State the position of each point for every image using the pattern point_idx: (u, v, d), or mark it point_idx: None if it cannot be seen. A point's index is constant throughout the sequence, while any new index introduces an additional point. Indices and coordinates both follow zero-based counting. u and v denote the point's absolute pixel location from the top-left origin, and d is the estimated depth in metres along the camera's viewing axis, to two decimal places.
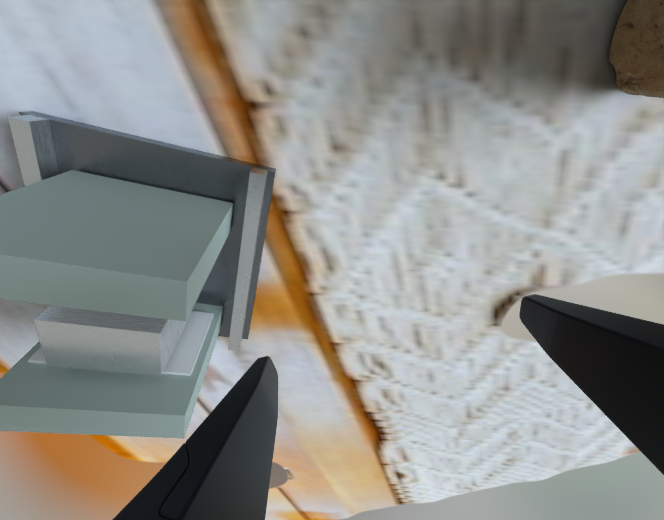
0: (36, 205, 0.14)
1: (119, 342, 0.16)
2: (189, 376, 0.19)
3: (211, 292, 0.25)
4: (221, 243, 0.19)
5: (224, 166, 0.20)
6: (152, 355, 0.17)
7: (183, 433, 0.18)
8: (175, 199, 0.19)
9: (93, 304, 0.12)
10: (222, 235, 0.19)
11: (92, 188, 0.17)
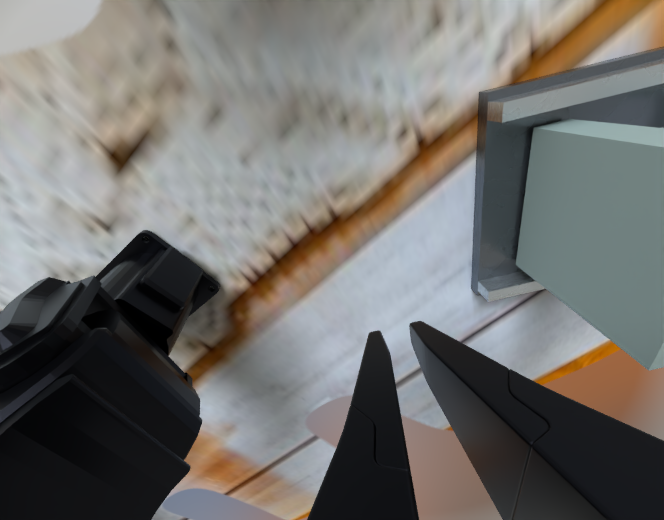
0: (581, 288, 0.17)
1: None
2: None
3: (660, 113, 0.18)
4: (608, 126, 0.15)
5: (491, 150, 0.18)
6: None
7: None
8: (541, 187, 0.18)
9: None
10: (596, 128, 0.15)
11: (540, 252, 0.20)
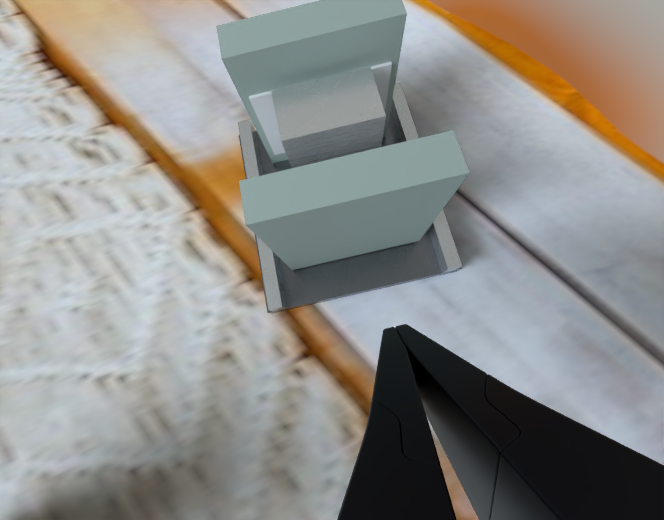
0: (410, 218, 0.17)
1: (313, 117, 0.17)
2: (249, 94, 0.18)
3: None
4: None
5: (309, 297, 0.22)
6: (283, 111, 0.17)
7: (218, 32, 0.16)
8: (333, 255, 0.21)
9: (318, 168, 0.13)
10: None
11: (393, 239, 0.20)
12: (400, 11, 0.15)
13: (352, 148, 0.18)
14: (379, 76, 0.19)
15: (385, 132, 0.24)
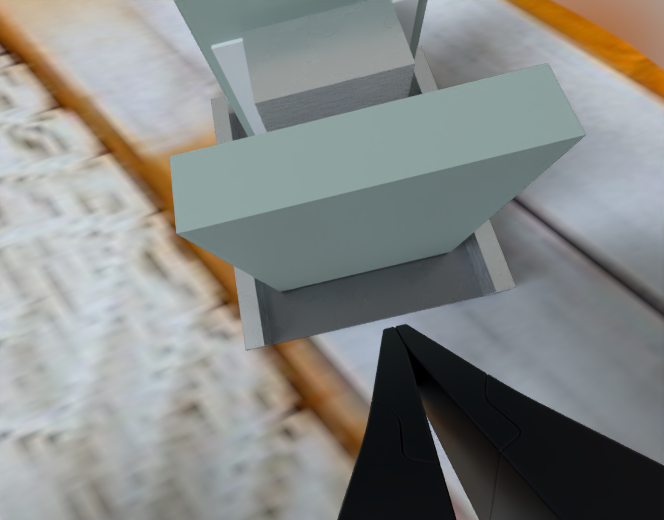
0: (451, 221, 0.11)
1: (304, 68, 0.11)
2: (212, 43, 0.12)
3: None
4: None
5: (303, 329, 0.16)
6: (259, 61, 0.11)
7: None
8: (335, 273, 0.15)
9: (308, 133, 0.07)
10: None
11: (418, 250, 0.14)
12: None
13: None
14: (400, 17, 0.13)
15: None
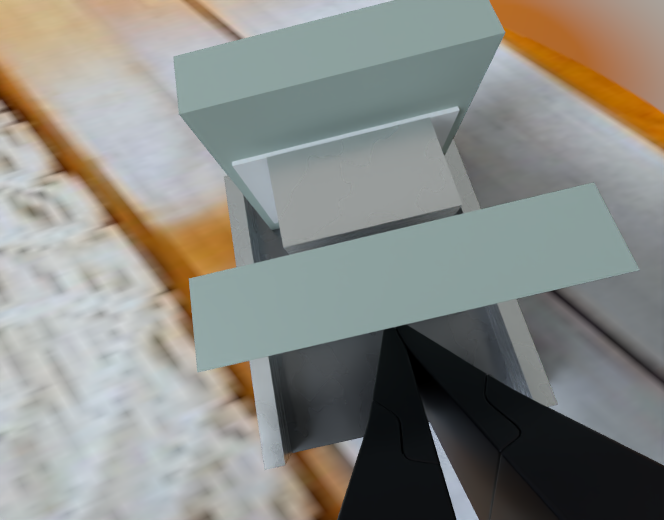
0: None
1: (338, 205, 0.10)
2: (232, 159, 0.11)
3: None
4: None
5: (324, 436, 0.15)
6: (287, 194, 0.10)
7: (176, 68, 0.09)
8: None
9: (337, 256, 0.07)
10: None
11: None
12: (493, 29, 0.09)
13: None
14: (436, 127, 0.12)
15: None
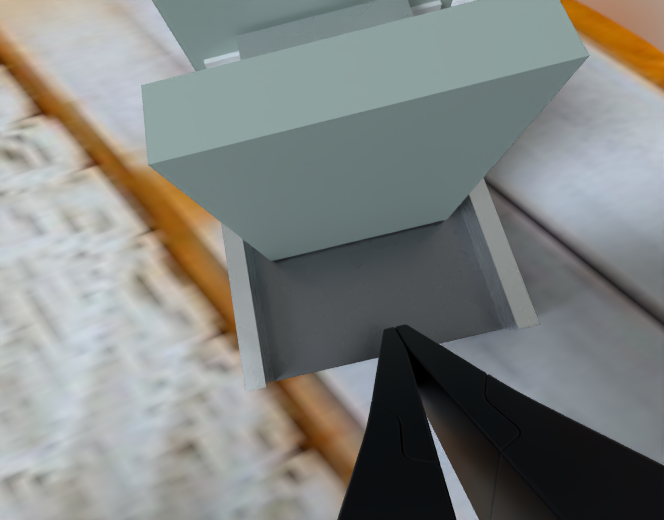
0: (446, 175, 0.11)
1: None
2: (204, 57, 0.11)
3: None
4: None
5: (307, 365, 0.15)
6: None
7: None
8: (327, 240, 0.15)
9: (290, 59, 0.07)
10: None
11: (412, 214, 0.14)
12: None
13: None
14: None
15: None
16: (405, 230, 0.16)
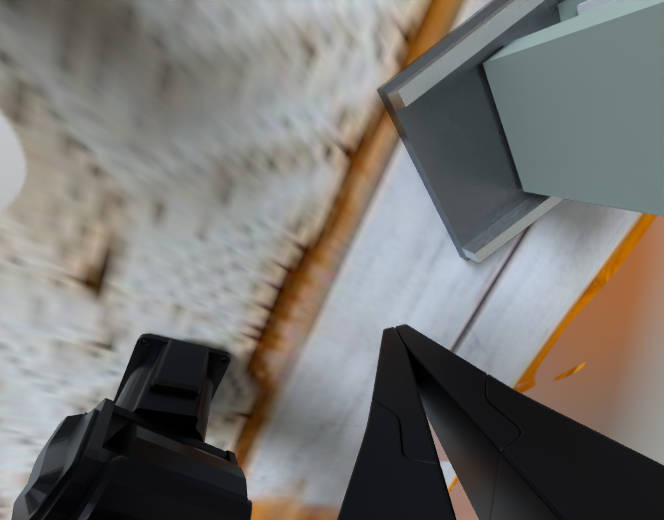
0: (597, 180, 0.17)
1: None
2: None
3: None
4: (549, 29, 0.16)
5: (412, 132, 0.19)
6: None
7: None
8: (515, 110, 0.19)
9: None
10: (539, 36, 0.16)
11: (541, 168, 0.20)
12: None
13: None
14: None
15: None
16: (512, 166, 0.22)
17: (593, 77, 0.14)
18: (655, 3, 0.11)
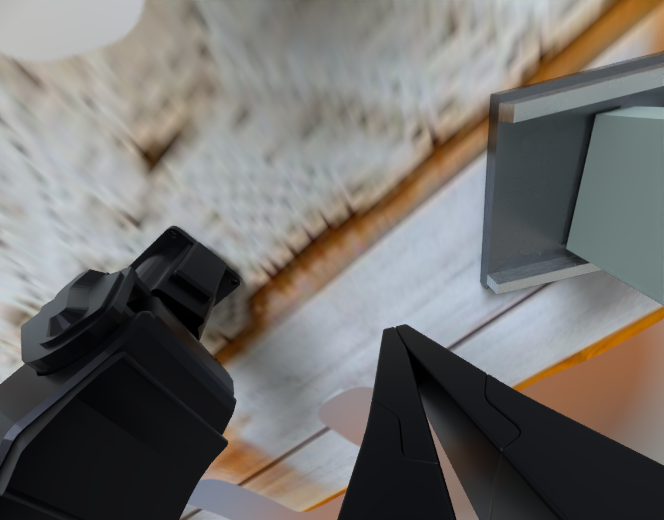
0: (644, 266, 0.18)
1: None
2: None
3: None
4: None
5: (502, 149, 0.19)
6: None
7: None
8: (602, 171, 0.19)
9: None
10: None
11: (596, 234, 0.21)
12: None
13: None
14: None
15: None
16: (568, 221, 0.23)
17: None
18: None
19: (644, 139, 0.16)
